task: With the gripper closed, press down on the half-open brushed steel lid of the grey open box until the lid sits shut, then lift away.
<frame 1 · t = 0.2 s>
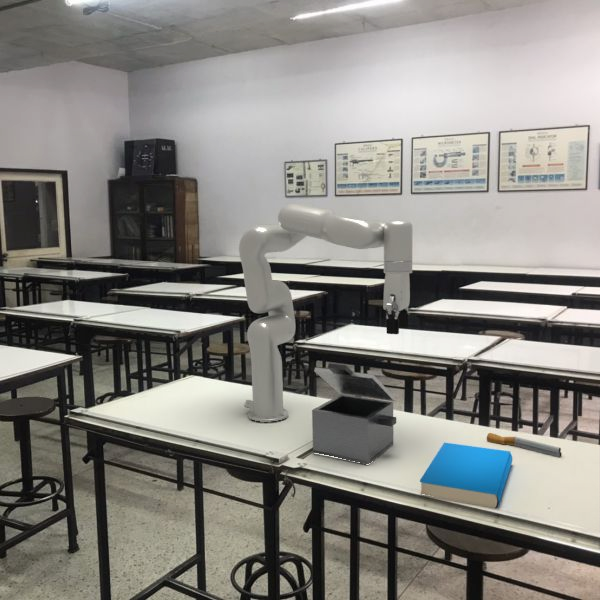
hand: (397, 330, 165), 31 cm above the table, tool pointing down, fingers open, 9 cm apart
book: (468, 481, 144), on the table
cooker lid: (353, 378, 161), point 19 cm above the table, hinge at 35.0°
grey open box: (353, 449, 164), on the table
orange and grey rod: (522, 449, 162), on the table
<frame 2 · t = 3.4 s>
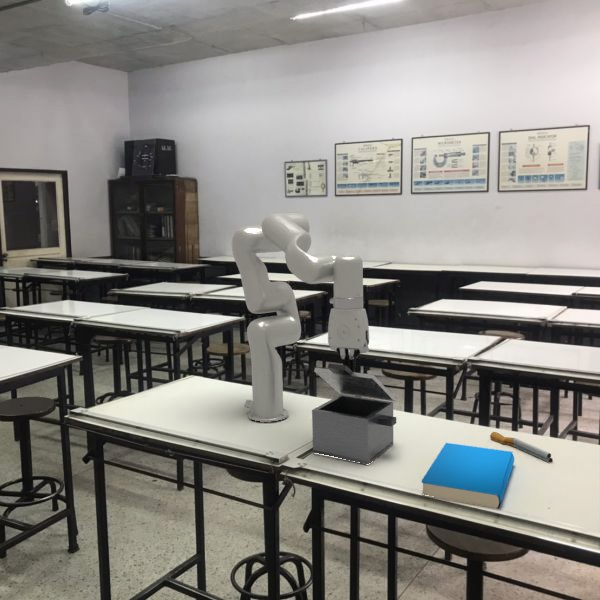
hand: (349, 373, 159), 21 cm above the table, tool pointing down, fingers closed
cooker lid: (353, 378, 161), point 19 cm above the table, hinge at 34.9°, touching gripper
orange and grey rod: (519, 451, 161), on the table
everything else where it was.
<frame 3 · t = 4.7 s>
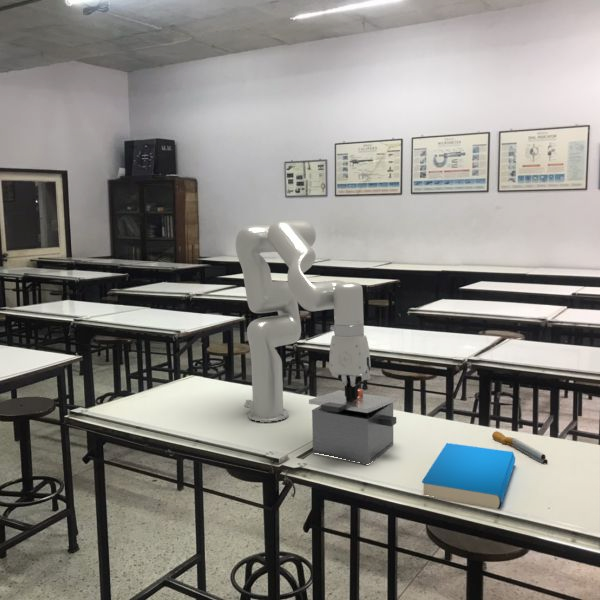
hand: (351, 399, 159), 14 cm above the table, tool pointing down, fingers closed
cooker lid: (349, 398, 160), point 15 cm above the table, hinge at 5.8°, touching gripper
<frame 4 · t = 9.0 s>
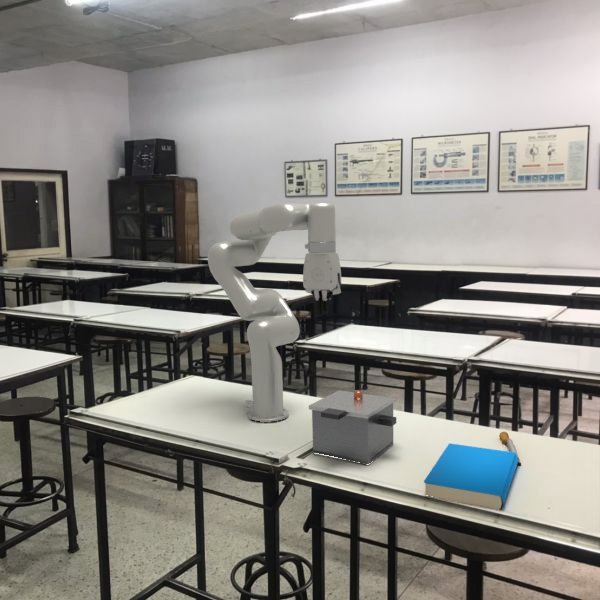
hand: (323, 314, 170), 35 cm above the table, tool pointing down, fingers closed
cooker lid: (348, 401, 160), point 14 cm above the table, hinge at 0.8°
orange and grey rod: (509, 453, 160), on the table
at the end: cooker lid at +1° (first picture: +35°); book moved 1.4 cm from its start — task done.
